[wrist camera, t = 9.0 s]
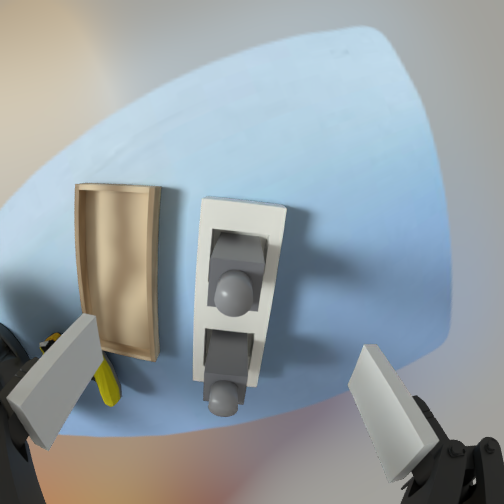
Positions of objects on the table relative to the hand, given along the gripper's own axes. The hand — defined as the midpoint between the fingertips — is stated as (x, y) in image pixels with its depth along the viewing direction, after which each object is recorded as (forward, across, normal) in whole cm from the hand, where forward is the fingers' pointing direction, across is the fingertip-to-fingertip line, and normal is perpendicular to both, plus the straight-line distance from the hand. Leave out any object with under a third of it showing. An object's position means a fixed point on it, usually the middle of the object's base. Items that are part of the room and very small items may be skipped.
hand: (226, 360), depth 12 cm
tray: (+19, -14, -4) cm, 24 cm away
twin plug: (+18, 0, -11) cm, 21 cm away
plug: (+18, 0, 0) cm, 18 cm away
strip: (+19, 0, -8) cm, 20 cm away
